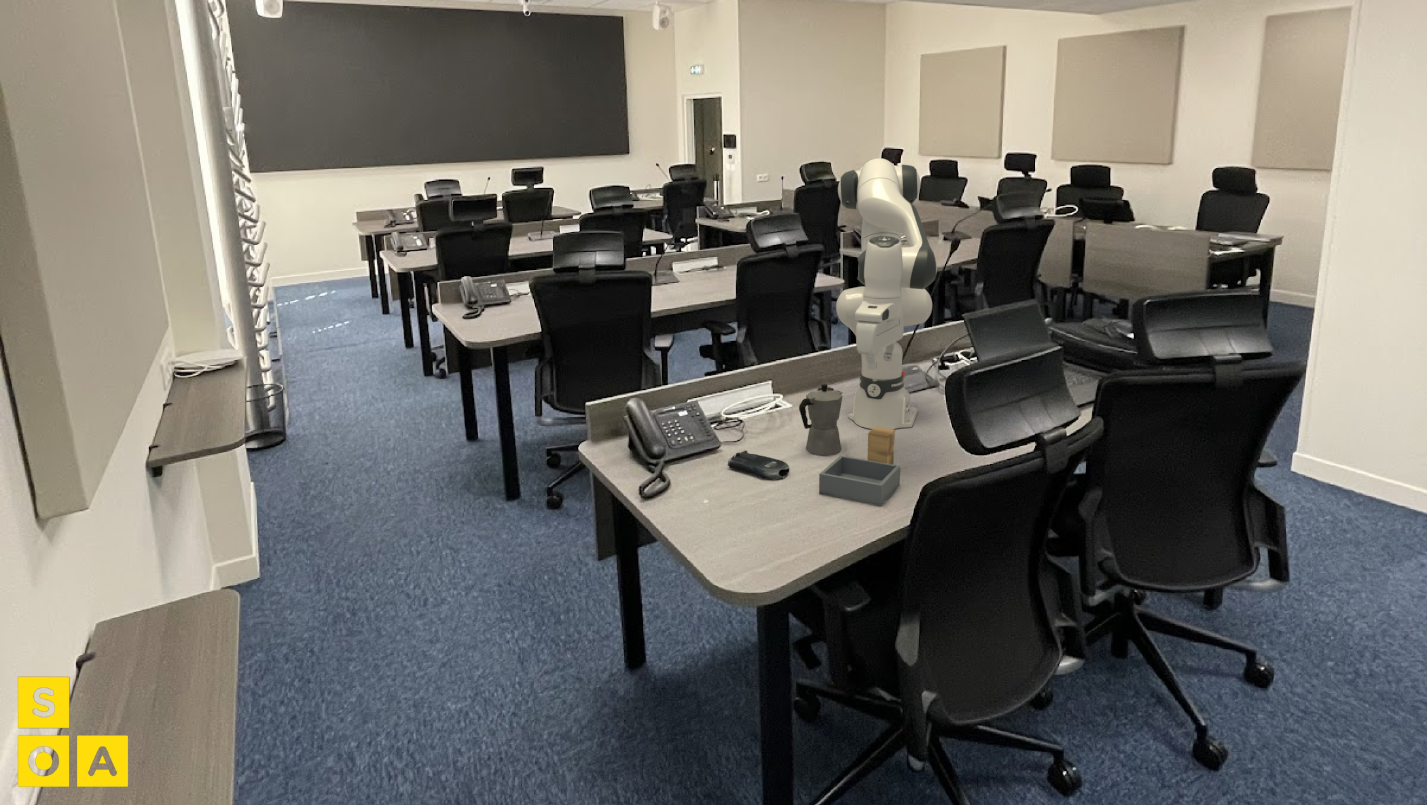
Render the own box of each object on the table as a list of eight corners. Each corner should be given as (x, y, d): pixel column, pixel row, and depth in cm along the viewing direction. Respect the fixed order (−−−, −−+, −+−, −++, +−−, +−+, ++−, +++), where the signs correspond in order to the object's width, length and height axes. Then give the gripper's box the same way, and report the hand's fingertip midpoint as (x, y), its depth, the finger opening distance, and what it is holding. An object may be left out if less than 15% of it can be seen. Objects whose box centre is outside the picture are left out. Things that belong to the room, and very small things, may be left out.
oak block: (874, 464, 218) (875, 426, 215) (893, 467, 216) (894, 429, 213) (867, 470, 214) (868, 432, 211) (886, 474, 212) (888, 436, 209)
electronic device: (726, 477, 217) (776, 482, 208) (724, 455, 217) (775, 459, 207) (747, 470, 225) (796, 474, 215) (746, 449, 224) (795, 452, 215)
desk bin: (840, 474, 213) (840, 455, 211) (899, 485, 205) (900, 465, 204) (819, 493, 202) (819, 473, 200) (880, 506, 195) (881, 485, 193)
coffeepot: (827, 439, 236) (828, 375, 231) (853, 448, 229) (855, 382, 224) (786, 453, 227) (786, 387, 221) (812, 463, 220) (813, 395, 214)
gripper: (886, 299, 213) (884, 354, 217) (851, 314, 197) (850, 373, 201) (911, 301, 210) (909, 357, 214) (877, 316, 193) (875, 376, 198)
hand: (880, 364), depth 207 cm, fingers open, 8 cm apart
